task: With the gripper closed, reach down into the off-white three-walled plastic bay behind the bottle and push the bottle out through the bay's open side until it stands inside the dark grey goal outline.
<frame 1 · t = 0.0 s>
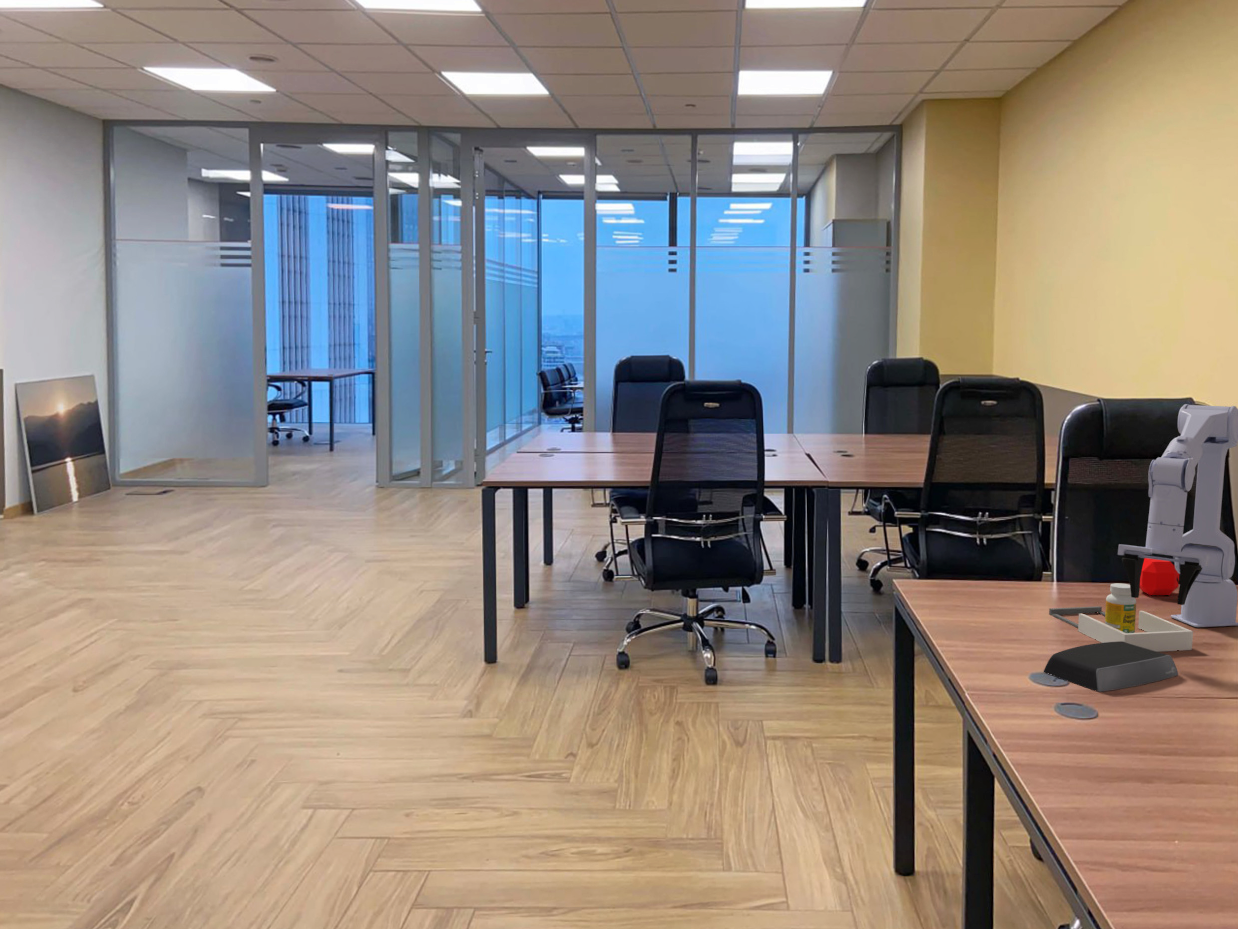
hand: (1157, 601, 195), 11 cm above the table, tool pointing down, fingers open, 7 cm apart
supplement bottle: (1119, 635, 212), on the table
ball: (1155, 594, 243), on the table
bay: (1131, 639, 208), on the table
goal outline: (1089, 620, 221), on the table
external hard drive: (1110, 677, 188), on the table
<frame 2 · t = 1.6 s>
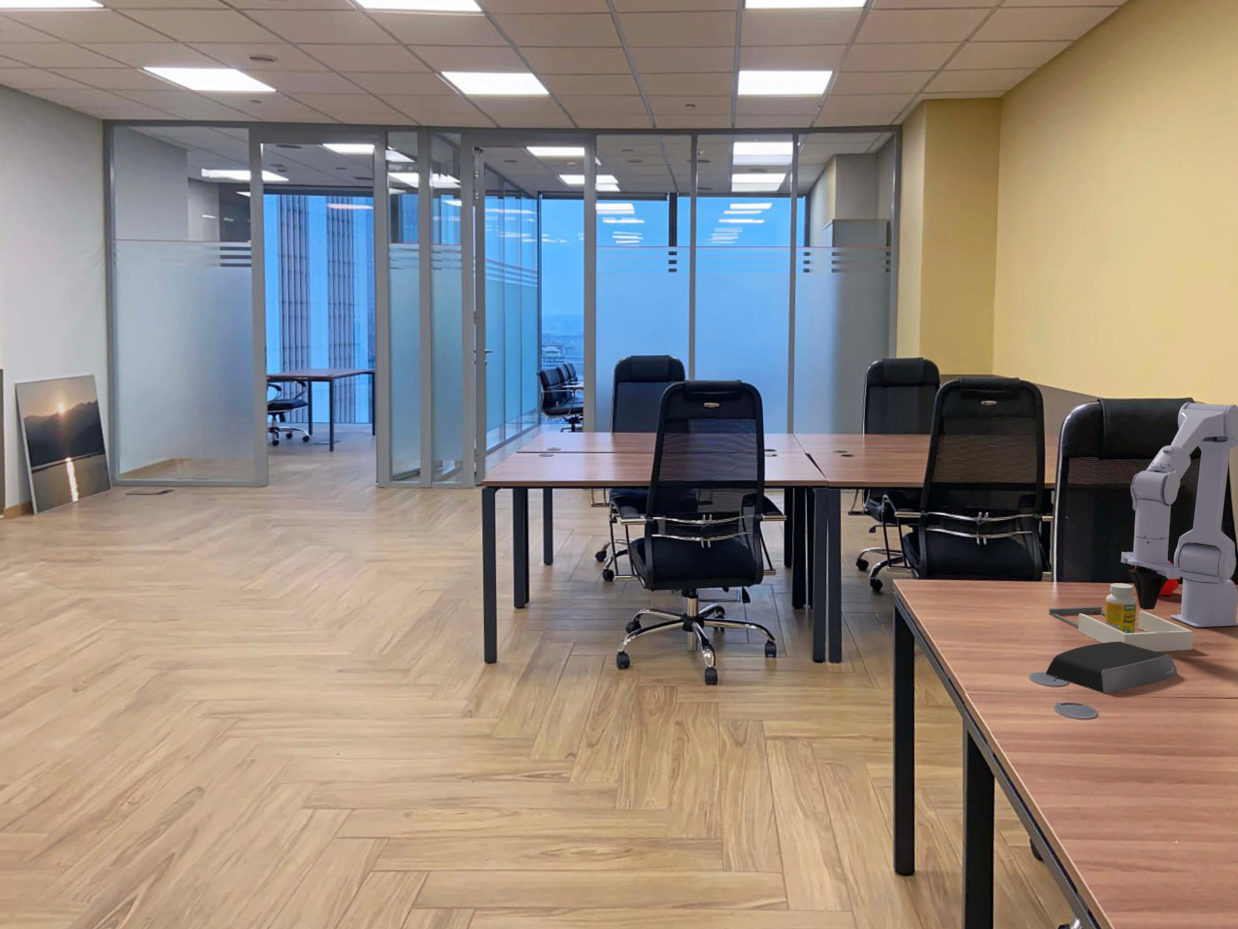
hand: (1147, 608, 203), 7 cm above the table, tool pointing down, fingers closed
nothing on the table moved.
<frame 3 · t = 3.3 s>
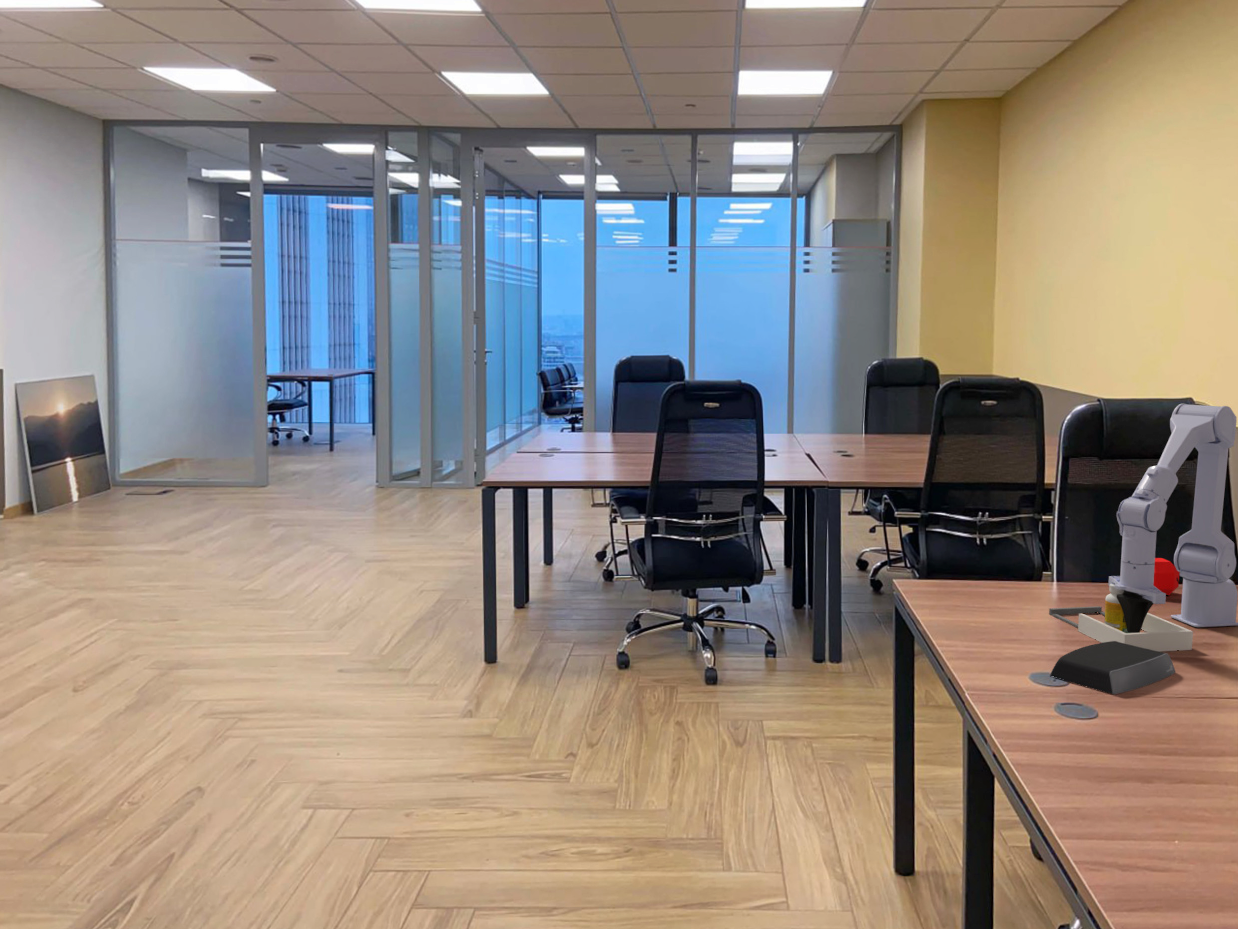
hand: (1133, 632, 207), 2 cm above the table, tool pointing down, fingers closed
supplement bottle: (1119, 634, 212), on the table, touching gripper
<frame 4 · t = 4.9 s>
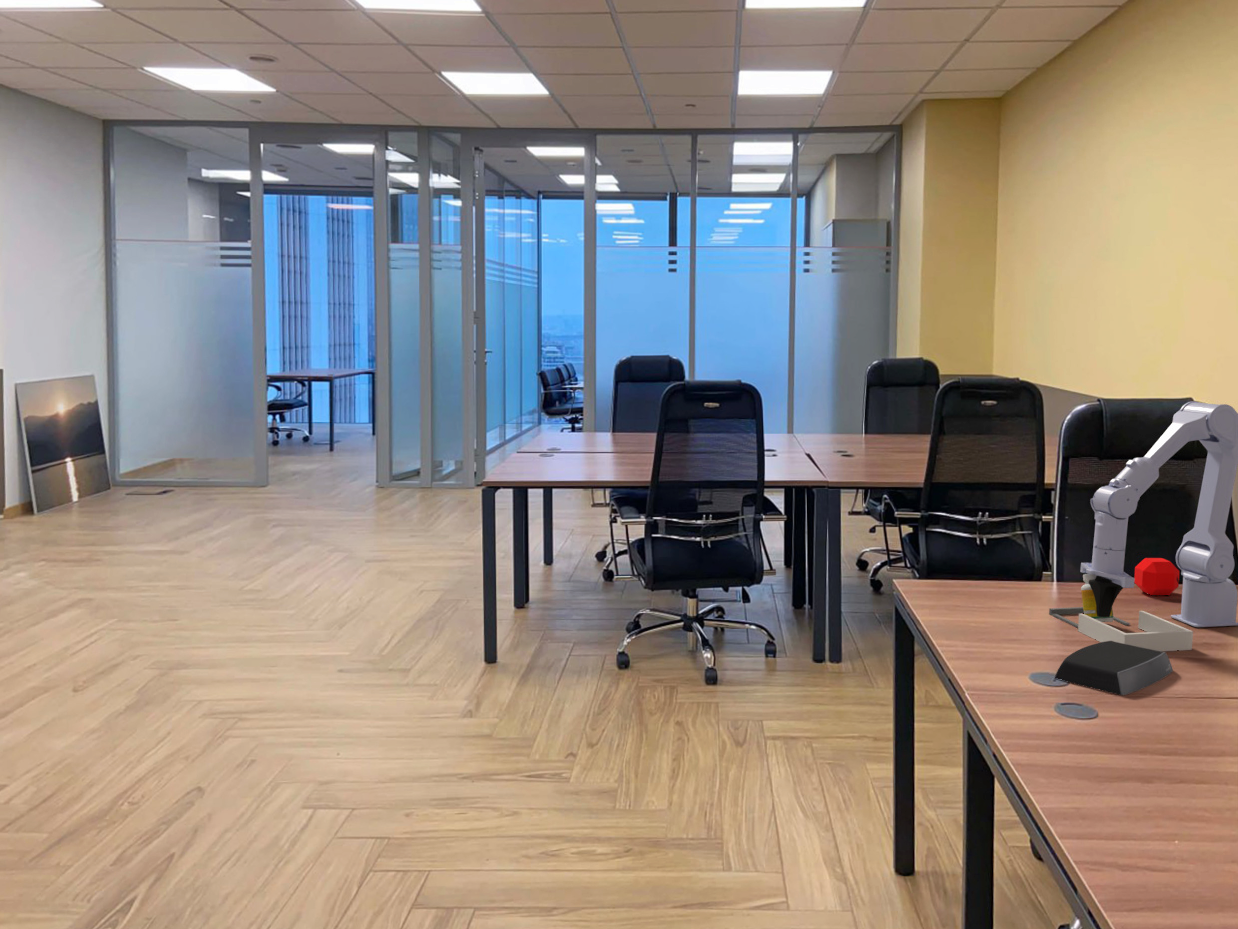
hand: (1102, 616, 215), 3 cm above the table, tool pointing down, fingers closed, pressing on supplement bottle
supplement bottle: (1099, 623, 217), on the table, touching gripper
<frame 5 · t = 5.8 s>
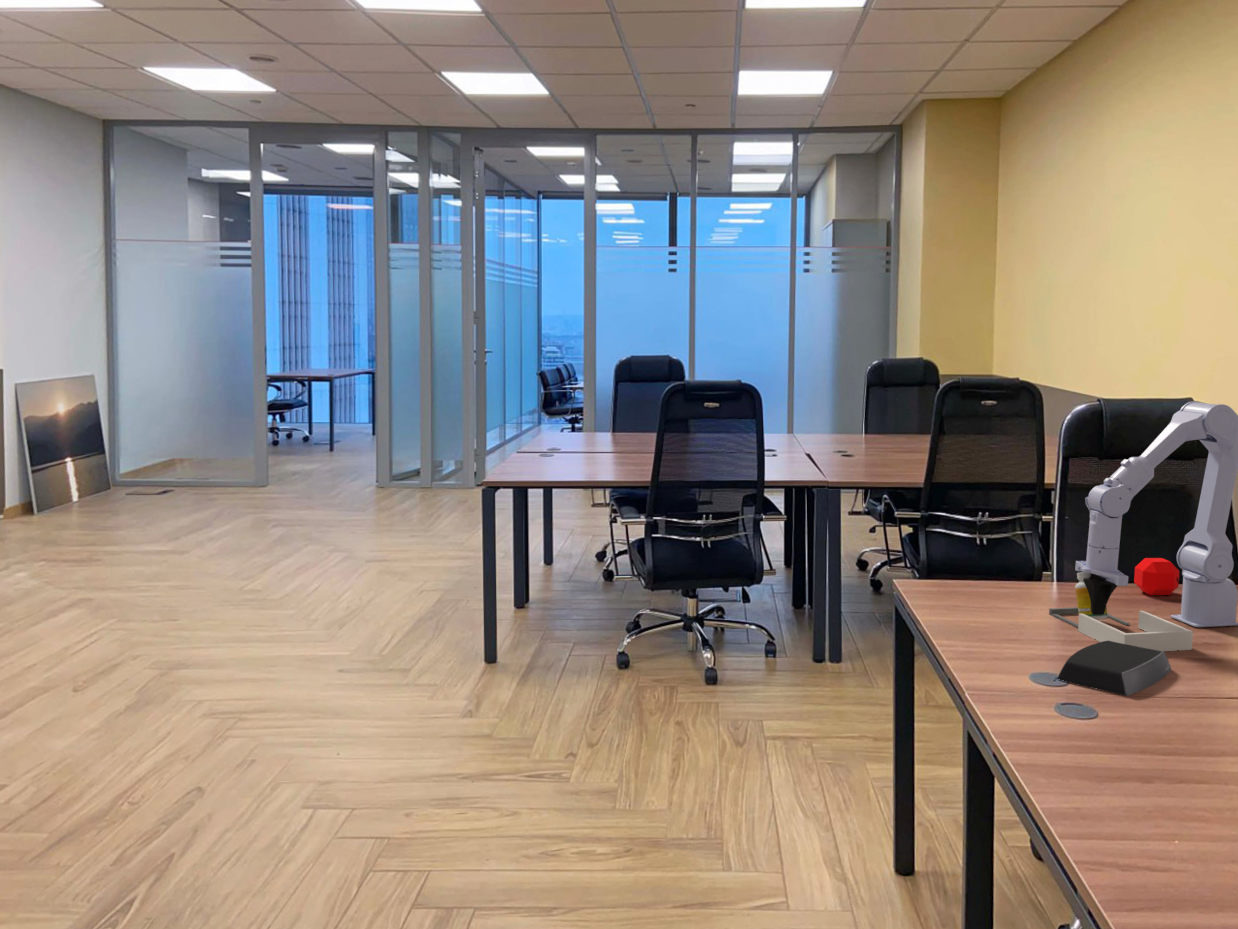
hand: (1097, 613, 217), 2 cm above the table, tool pointing down, fingers closed, pressing on supplement bottle
supplement bottle: (1093, 621, 219), on the table, touching gripper
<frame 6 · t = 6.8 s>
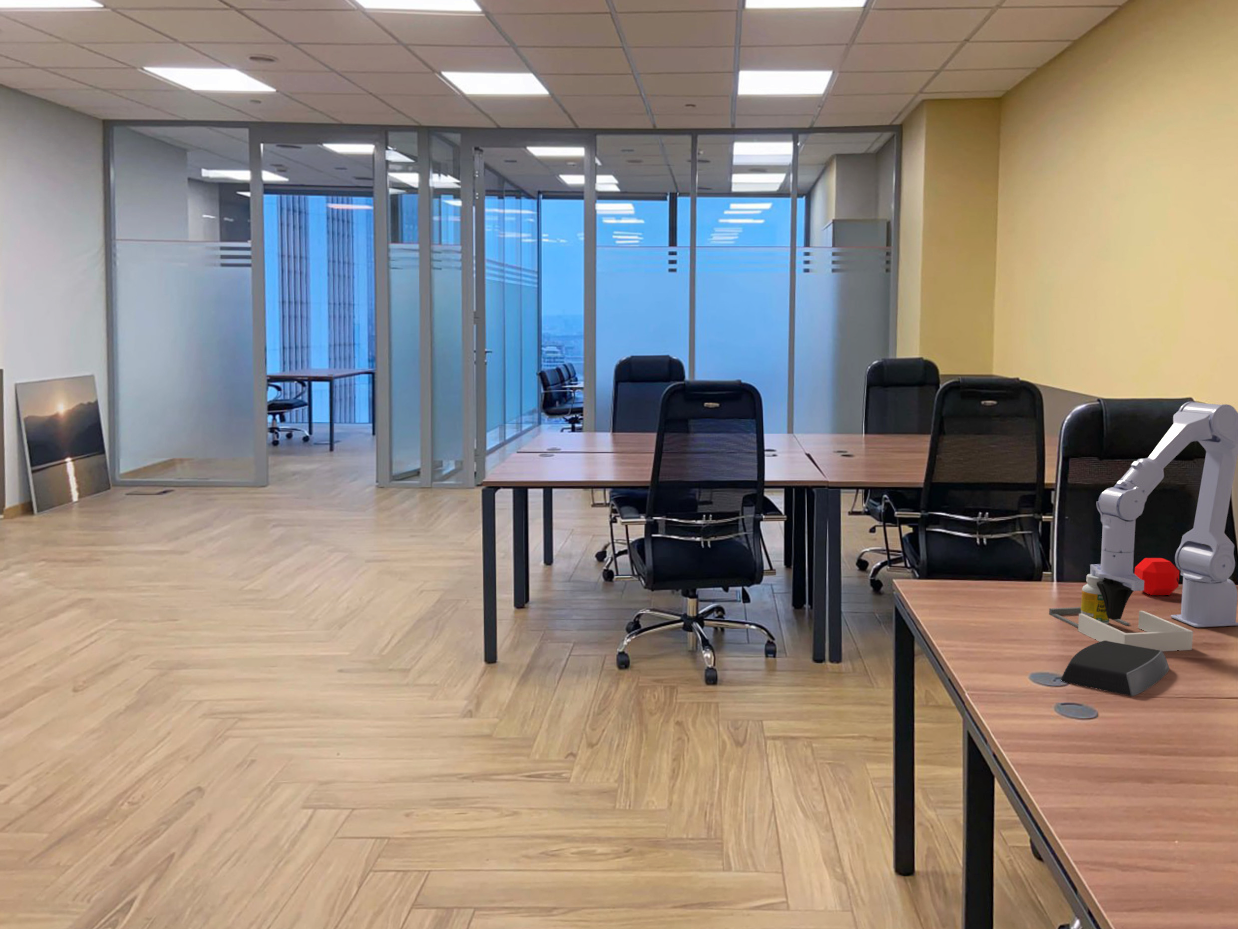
hand: (1114, 618, 213), 2 cm above the table, tool pointing down, fingers closed
supplement bottle: (1094, 623, 219), on the table
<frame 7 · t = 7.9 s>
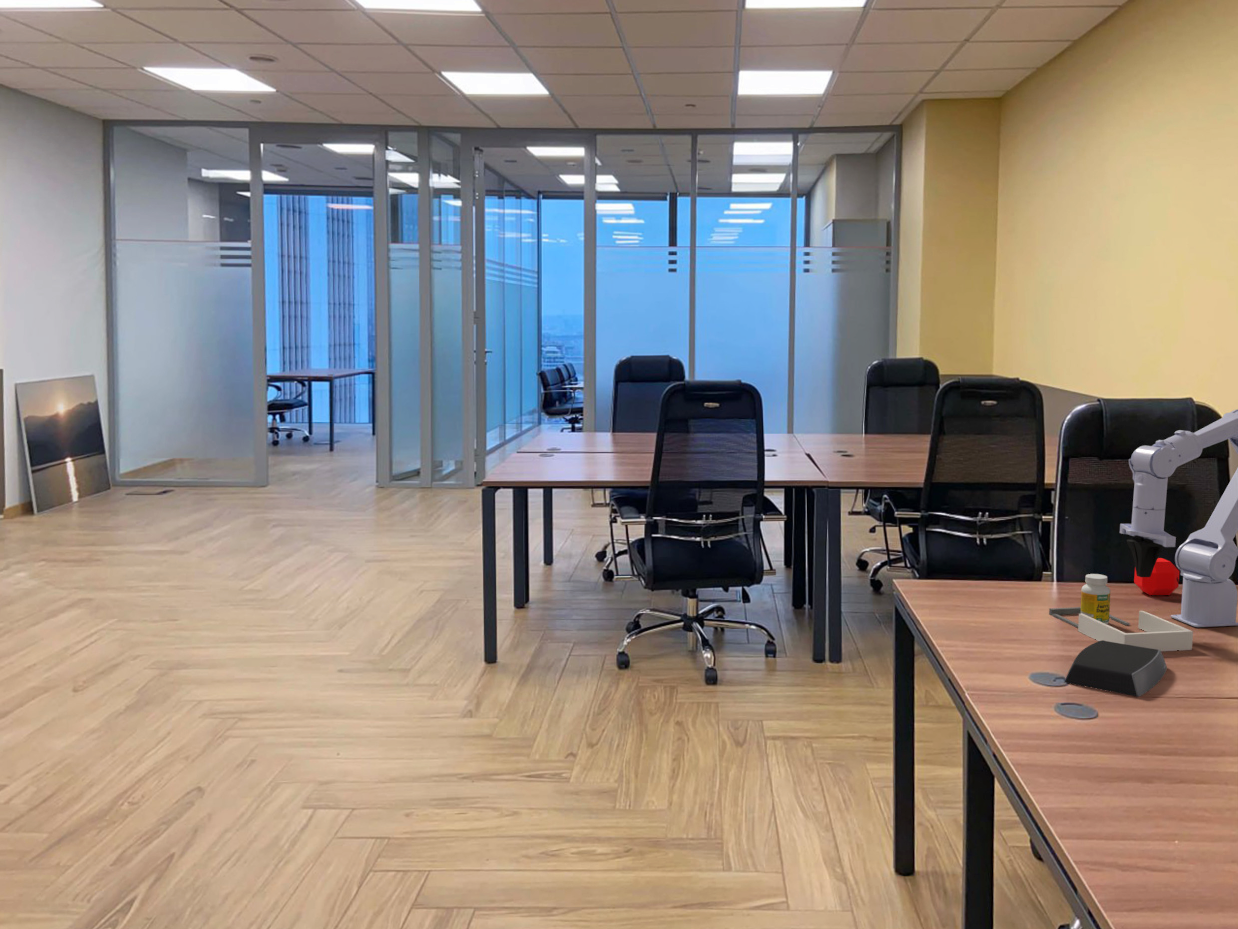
hand: (1143, 576, 214), 10 cm above the table, tool pointing down, fingers closed
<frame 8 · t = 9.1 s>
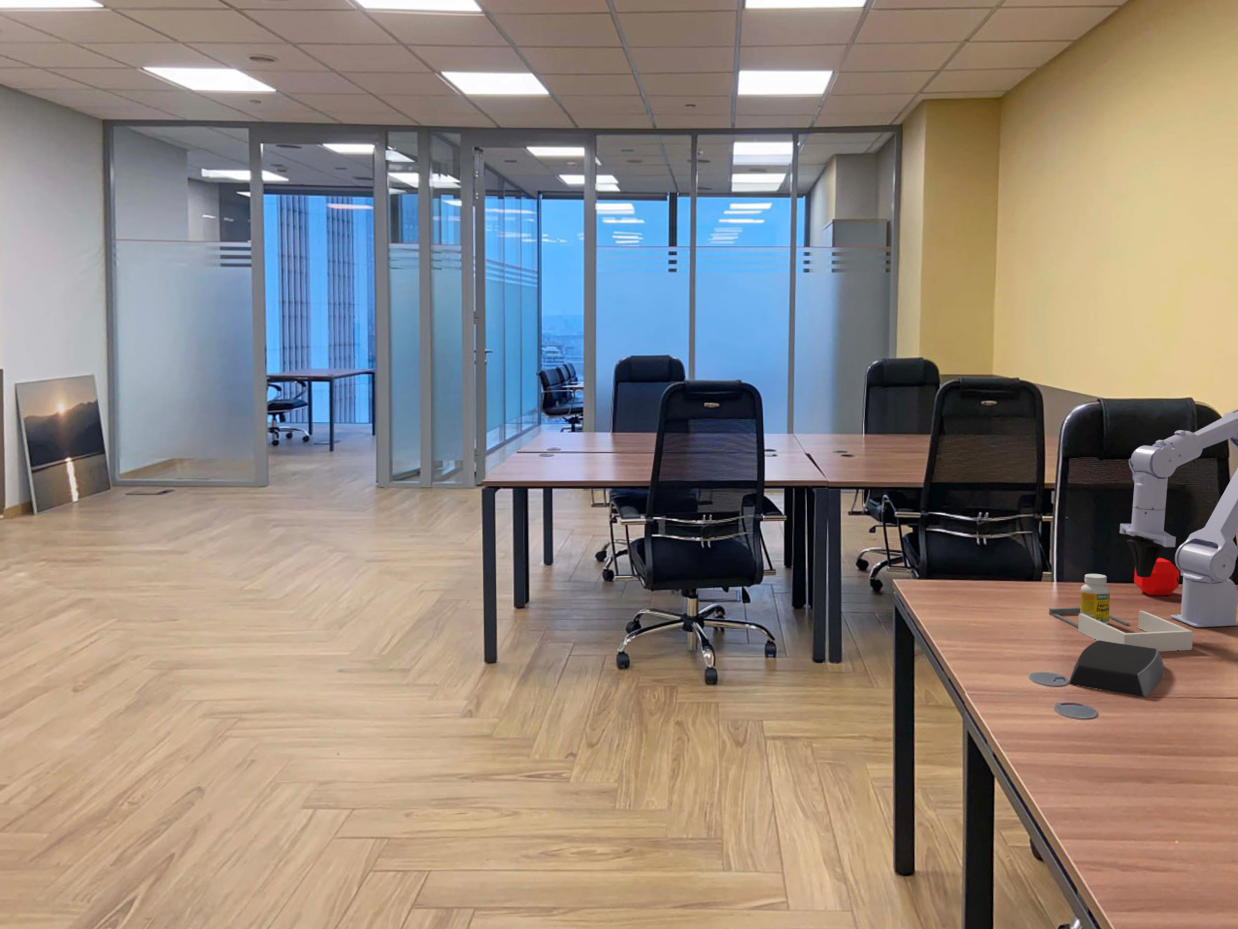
hand: (1143, 576, 214), 10 cm above the table, tool pointing down, fingers closed
at the end: supplement bottle inside the target area on the goal outline (2.0 cm from its centre), point 0.0 cm above the goal outline's base; supplement bottle tilted 1°; supplement bottle inside the target area (3.5 cm from its centre), on the table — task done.
